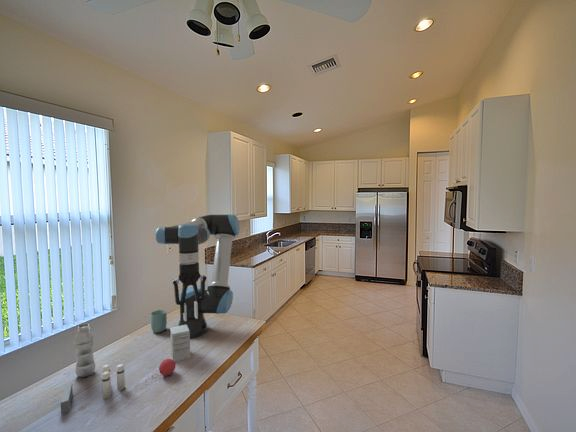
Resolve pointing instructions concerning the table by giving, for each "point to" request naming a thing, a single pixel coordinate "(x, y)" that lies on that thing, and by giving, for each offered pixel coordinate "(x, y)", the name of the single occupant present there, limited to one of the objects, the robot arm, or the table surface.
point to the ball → (167, 367)
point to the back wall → (66, 399)
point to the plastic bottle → (84, 351)
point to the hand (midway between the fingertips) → (190, 318)
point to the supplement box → (180, 343)
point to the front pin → (120, 377)
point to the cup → (158, 320)
